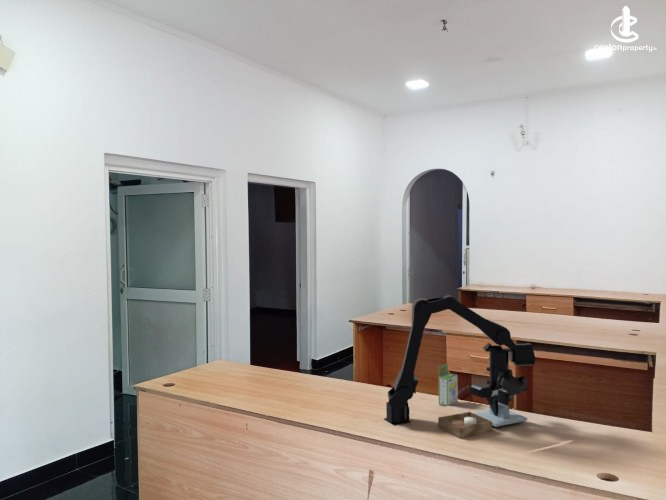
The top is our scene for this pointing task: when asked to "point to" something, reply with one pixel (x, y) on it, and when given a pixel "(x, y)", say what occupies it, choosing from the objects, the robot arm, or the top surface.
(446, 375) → the ink box
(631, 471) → the top surface
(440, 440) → the top surface
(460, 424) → the puck terracotta
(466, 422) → the puck cream
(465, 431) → the box
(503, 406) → the lid
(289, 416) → the top surface
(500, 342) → the robot arm
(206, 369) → the top surface
